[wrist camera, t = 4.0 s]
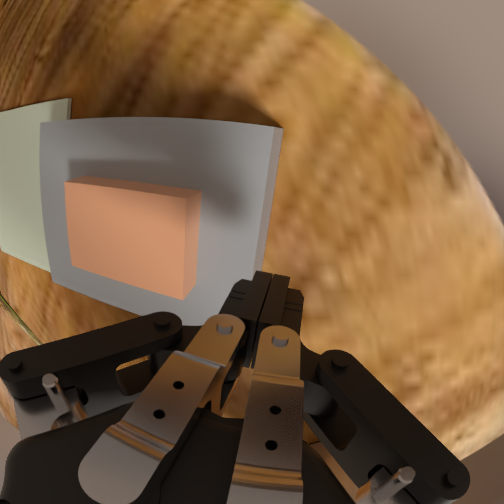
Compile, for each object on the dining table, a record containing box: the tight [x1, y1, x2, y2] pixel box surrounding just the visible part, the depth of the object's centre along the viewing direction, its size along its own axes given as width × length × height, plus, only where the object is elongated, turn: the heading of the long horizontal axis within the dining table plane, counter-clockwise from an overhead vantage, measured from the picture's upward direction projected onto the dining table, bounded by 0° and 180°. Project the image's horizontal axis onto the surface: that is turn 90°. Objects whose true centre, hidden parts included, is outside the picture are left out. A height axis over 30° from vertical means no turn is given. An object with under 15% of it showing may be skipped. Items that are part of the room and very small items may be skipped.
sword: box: [0, 292, 42, 345], centre depth 35 cm, size 25×4×1 cm, turn 54°
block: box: [64, 176, 202, 300], centre depth 17 cm, size 9×6×2 cm, turn 83°
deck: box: [39, 117, 283, 326], centre depth 20 cm, size 18×14×4 cm
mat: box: [0, 98, 72, 272], centre depth 24 cm, size 16×18×1 cm
